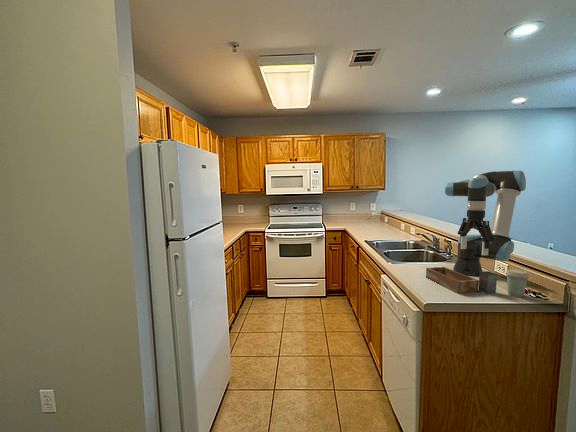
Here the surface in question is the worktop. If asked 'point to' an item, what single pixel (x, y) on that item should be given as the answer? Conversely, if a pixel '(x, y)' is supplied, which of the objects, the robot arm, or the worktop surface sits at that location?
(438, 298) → the worktop surface
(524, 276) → the coffee cup
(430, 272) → the wooden box
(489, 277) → the dark grey block
